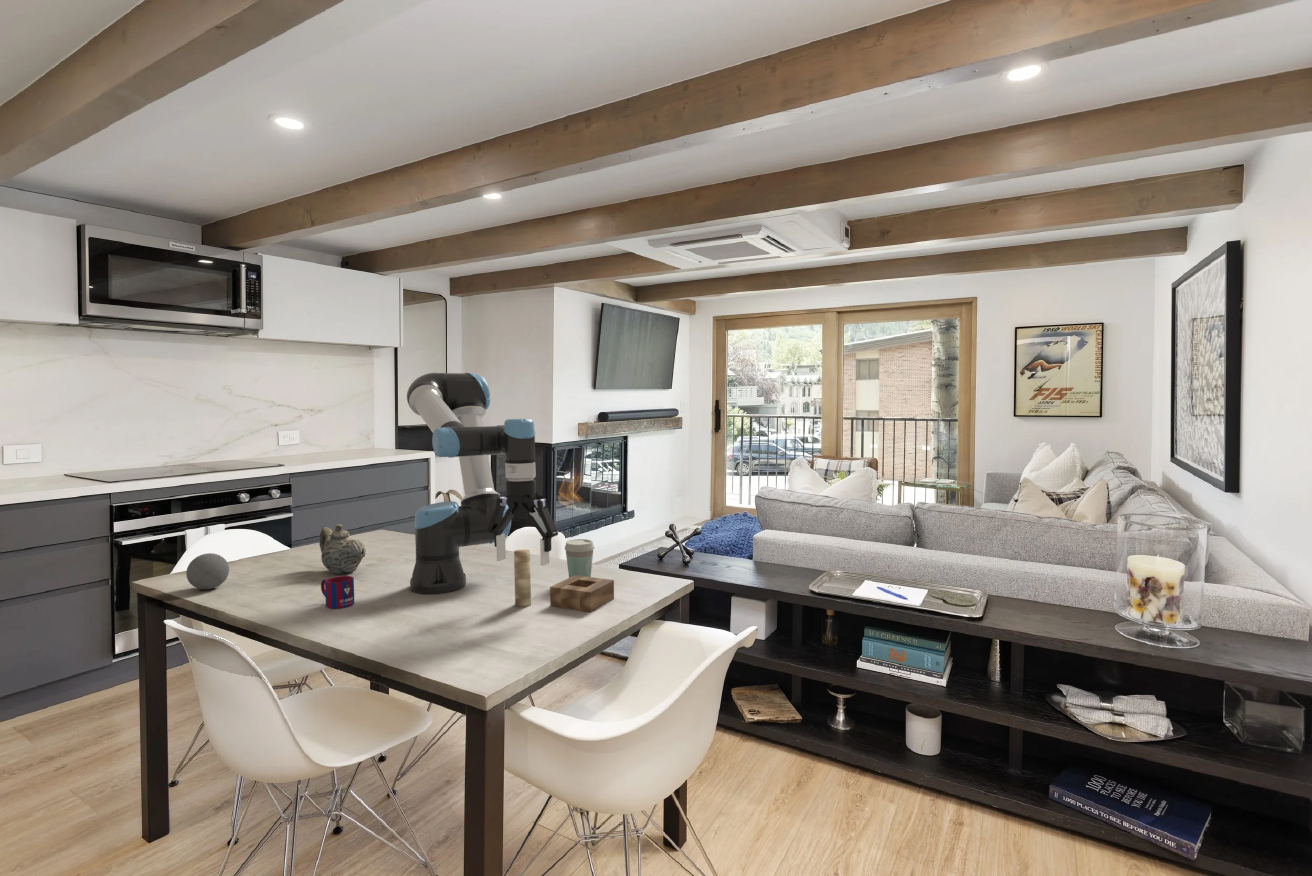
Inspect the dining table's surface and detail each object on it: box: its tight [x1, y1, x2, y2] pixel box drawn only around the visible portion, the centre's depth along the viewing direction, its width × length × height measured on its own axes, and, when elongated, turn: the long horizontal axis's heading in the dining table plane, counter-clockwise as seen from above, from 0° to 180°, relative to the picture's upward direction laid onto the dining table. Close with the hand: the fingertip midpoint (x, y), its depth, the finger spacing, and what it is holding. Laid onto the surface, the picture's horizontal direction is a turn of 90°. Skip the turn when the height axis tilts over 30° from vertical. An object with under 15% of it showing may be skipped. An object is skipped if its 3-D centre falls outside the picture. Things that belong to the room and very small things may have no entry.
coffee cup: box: [564, 538, 595, 578], centre depth 189 cm, size 9×9×12 cm
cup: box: [320, 575, 355, 610], centre depth 172 cm, size 7×10×7 cm
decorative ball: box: [186, 552, 230, 591], centre depth 186 cm, size 10×10×10 cm
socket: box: [549, 575, 615, 613], centre depth 172 cm, size 12×12×5 cm
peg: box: [513, 548, 532, 608], centre depth 170 cm, size 4×4×14 cm
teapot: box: [318, 523, 367, 575], centre depth 203 cm, size 21×12×15 cm, turn 58°
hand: (522, 562), depth 169 cm, fingers open, 13 cm apart
